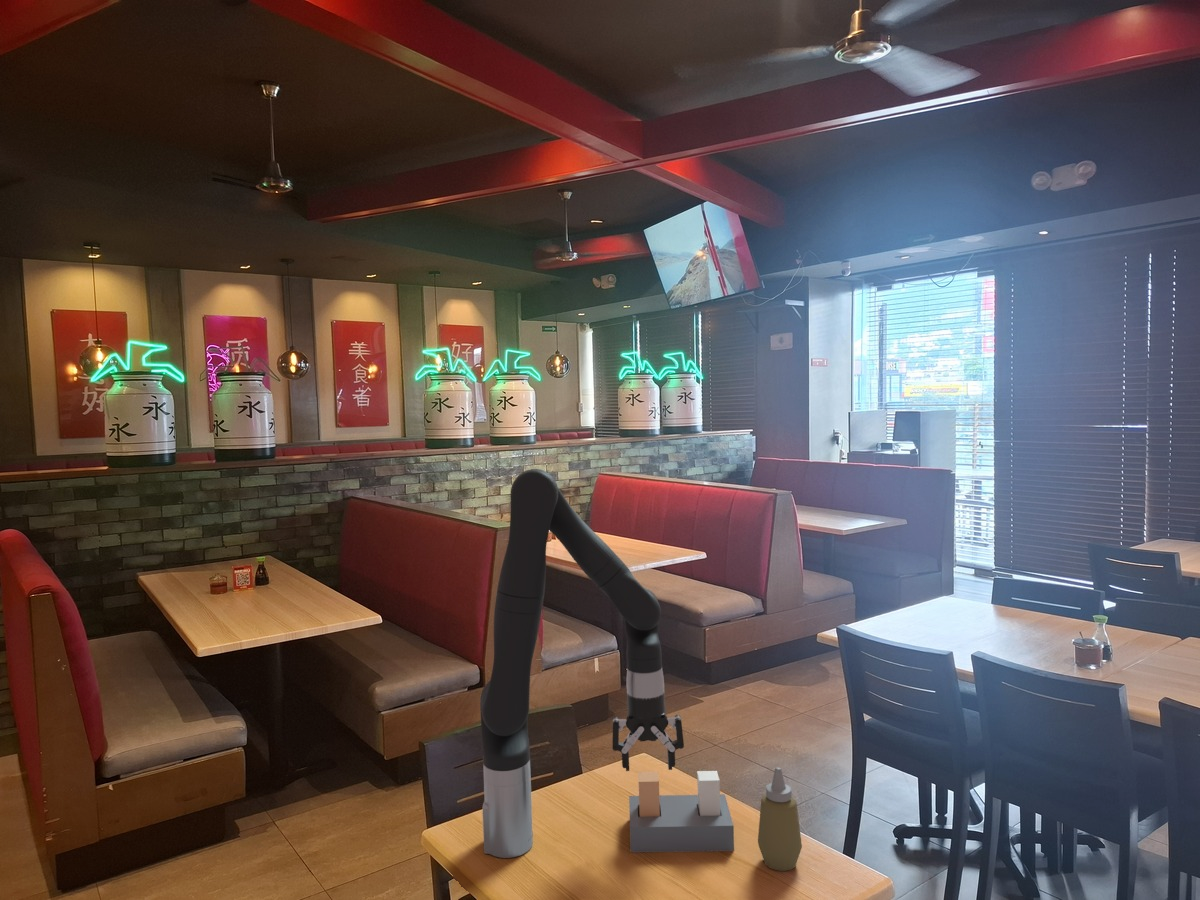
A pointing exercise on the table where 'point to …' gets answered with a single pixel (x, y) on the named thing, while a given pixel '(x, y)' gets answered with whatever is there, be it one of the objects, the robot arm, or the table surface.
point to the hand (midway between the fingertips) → (648, 768)
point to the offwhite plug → (708, 793)
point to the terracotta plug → (648, 794)
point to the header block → (680, 827)
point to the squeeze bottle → (779, 826)
